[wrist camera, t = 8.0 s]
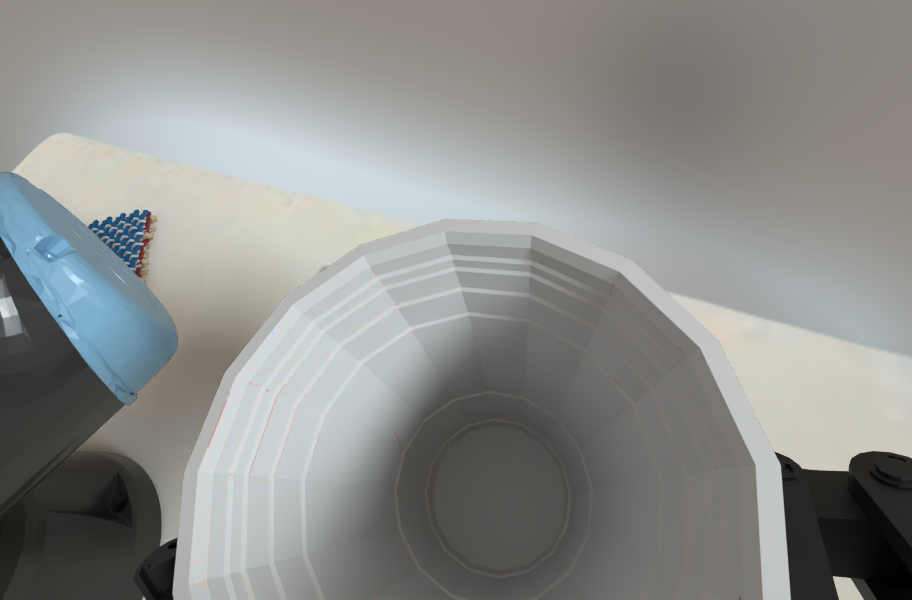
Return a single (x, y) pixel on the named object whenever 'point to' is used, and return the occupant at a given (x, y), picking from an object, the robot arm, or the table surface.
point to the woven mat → (128, 238)
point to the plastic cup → (481, 437)
